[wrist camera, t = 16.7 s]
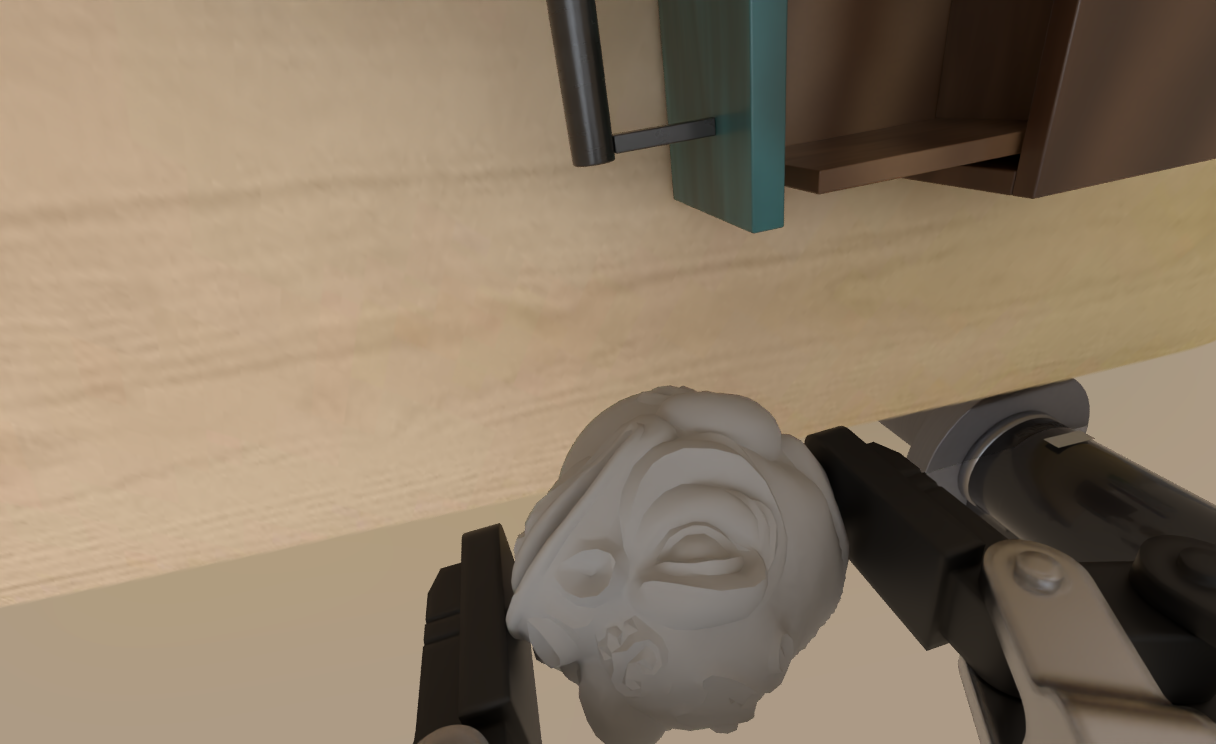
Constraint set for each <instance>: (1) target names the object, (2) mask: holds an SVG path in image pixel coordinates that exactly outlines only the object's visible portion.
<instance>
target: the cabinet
mask: <svg viewBox="0 0 1216 744" xmlns="http://www.w3.org/2000/svg"><path fill="white" fill-rule="evenodd" d="M1212 159H1216V0H1054V1H1053V5H1052V10H1051V15H1050V19H1049V24H1048V29H1047V33H1046V38H1045V43H1044V47H1043V52H1042V57H1041V61H1040V66H1039V71H1038V75H1037V80H1036V85H1035V89H1034V94H1033V99H1032V103H1031V108H1030V113H1029V117H1028V122H1027V127H1026V131H1025V136H1024V141H1023V145H1022V150H1021V153H1019V154H1014V155H1010V156H1005V157H1000V158H995V159H990V160H985V161H980V162H975V163H970V164H966V165H961V166H956V167H951V168H946V169H941V170H936V171H931V172H926V173H922V174H917V175H912V176H907V177H902V178H904V179H911V180H917V181H923V182H930V183H936V184H942V185H949V186H955V187H961V188H967V189H974V190H980V191H986V192H993V193H999V194H1005V195H1013V196H1018V197H1024V198H1031V199H1034V198H1039V197H1043V196H1048V195H1052V194H1057V193H1062V192H1066V191H1071V190H1075V189H1080V188H1084V187H1089V186H1093V185H1098V184H1103V183H1107V182H1112V181H1116V180H1121V179H1125V178H1130V177H1134V176H1139V175H1143V174H1148V173H1153V172H1157V171H1162V170H1166V169H1171V168H1175V167H1180V166H1184V165H1189V164H1194V163H1198V162H1203V161H1207V160H1212Z"/></svg>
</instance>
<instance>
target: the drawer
mask: <svg viewBox="0 0 1216 744" xmlns="http://www.w3.org/2000/svg"><path fill="white" fill-rule="evenodd" d="M1053 1H1054V0H658V6H659V19H660V31H661V44H662V56H663V69H664V81H665V94H666V106H667V119H668V125H662V126H656V127H651V128H645V129H639V130H634V131H628V132H622V133H616V134H612V130H611V122H610V114H609V106H608V98H607V90H606V82H605V74H604V67H603V59H602V51H601V43H600V35H599V27H598V19H597V11H596V3H595V0H546V2H547V8H548V14H549V20H550V27H551V33H552V39H553V45H554V51H555V57H556V63H557V69H558V76H559V82H560V88H561V94H562V100H563V106H564V112H565V119H566V125H567V131H568V137H569V143H570V149H571V155H572V162H573V165H574V166H575V167H587V166H595V165H600V164H605V163H609V162H612V161H614V160H615V153H617V154H618V153H623V152H629V151H634V150H640V149H645V148H651V147H656V146H662V145H667V144H670V156H671V169H672V181H673V194H674V199H675V200H677V201H679V202H682V203H684V204H686V205H689V206H691V207H693V208H696V209H698V210H700V211H702V212H705V213H707V214H709V215H712V216H714V217H716V218H719V219H721V220H723V221H725V222H728V223H730V224H732V225H735V226H737V227H739V228H742V229H744V230H746V231H748V232H751V233H758V232H763V231H767V230H772V229H777V228H782V227H783V226H784V186H786V187H790V188H794V189H799V190H803V191H807V192H811V193H815V194H824V193H829V192H833V191H838V190H843V189H848V188H853V187H858V186H863V185H868V184H873V183H877V182H882V181H887V180H892V179H897V178H902V177H907V176H912V175H917V174H922V173H926V172H931V171H936V170H941V169H946V168H951V167H956V166H961V165H966V164H970V163H975V162H980V161H985V160H990V159H995V158H1000V157H1005V156H1010V155H1014V154H1019V153H1021V150H1022V145H1023V141H1024V136H1025V131H1026V127H1027V122H1028V117H1029V113H1030V108H1031V103H1032V99H1033V94H1034V89H1035V85H1036V80H1037V75H1038V71H1039V66H1040V61H1041V57H1042V52H1043V47H1044V43H1045V38H1046V33H1047V29H1048V24H1049V19H1050V15H1051V10H1052V5H1053Z"/></svg>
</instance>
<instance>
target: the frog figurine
mask: <svg viewBox="0 0 1216 744" xmlns="http://www.w3.org/2000/svg"><path fill="white" fill-rule="evenodd" d="M514 553H515V563H514V566H513V570H512V579H511V584H512V589H513V592H514V595H513V597H512V600H511V603H510V606H509V609H508V612H507V616H506V623H507V627H508V631H509V633H510V635H511V636H512V637H513V638H515V639H524V640H526V641H528V642H530V643H531V644H532V646H533V651H534V654H535V657H536V660H538V661H540V662H541V663H544V664H546V665H547V666H549V667H550V668H555V669H557V670H559V671H562V672H563V674H564V675H565V676H566V677H567V678H568V679H569V680H570V681H573V682H574V683H576V684H577V685H578V686H579V699H580V702H581V704H582V707H583V710H584V713H585V716H586V718H587V721H588V723H589V725H590V726H591V728H592V730H593V731H594V733H595V735H596V736H597V737H598V738H599V739H600V740H601V741H603V742H604V743H605V744H655V743H656V742H657V741H658V740H659V739H660V738H661V737H662V735H663V734H664V732H665V731H668V730H671V729H672V728H673V729H682V730H688V731H692V730H699V729H705V728H710V729H712V730H713V731H715V732H716V733H727V734H728V733H730V732H733V731H735V730H737V727H738V723H743V722H747V721H749V720H751V719H752V718H753V717H754V711H755V707H756V704H757V702H758V701H759V700H760V699H761V698H762V696H763V695H764V694H765V693H770V692H772V691H773V690H774V689H776V688H777V687H778V686H779V685H780V684H781V683H782V681H783V679H784V676H785V674H786V672H787V669H788V667H789V664H790V662H791V660H792V659H793V658H794V657H795V655H797V654H798V653H799V651H801V650H803V649H805V647H806V646H807V644H808V643H809V642H810V640H811V639H812V638H814V637H815V636H816V634H817V631H818V630H819V628H820V627H821V626H823V625H824V624H825V623H826V621H827V620H828V619H829V618H830V615H831V614H832V613H834V611H835V609H836V608H837V604H838V603H839V601H840V599H841V595H842V593H843V587H844V581H845V574H846V570H847V565H848V560H849V541H848V537H847V534H846V530H845V526H844V523H843V520H842V517H841V514H840V511H839V508H838V505H837V503H836V501H835V498H834V493H833V490H832V487H831V485H830V482H829V479H828V477H827V474H826V472H825V470H824V469H823V467H822V465H821V464H820V463H819V461H818V460H817V459H816V458H815V457H814V455H813V454H812V453H811V452H810V450H809V449H808V448H807V447H806V445H805V444H804V443H803V442H802V441H801V440H799V439H797V438H795V437H793V436H792V435H789V434H781V431H780V429H779V427H778V424H777V422H776V420H775V418H774V417H773V416H772V415H771V414H770V412H768V411H767V410H766V409H765V408H763V407H762V406H761V405H760V404H758V403H757V402H755V401H753V400H752V399H750V398H747V397H743V396H740V395H734V394H724V393H713V392H709V391H702V392H697V391H695V390H693V389H690V388H688V387H685V386H681V387H680V388H678V387H674V386H662V387H657V388H654V389H652V390H651V391H647V392H641V393H640V394H636V395H633V396H631V397H628V398H625V399H623V400H620V401H618V402H617V403H615V404H614V405H612V406H610V407H609V408H607V409H606V410H604V411H603V412H601V413H600V414H599V415H598V416H597V417H595V418H594V419H593V420H592V421H591V422H590V423H589V424H588V425H587V426H586V427H585V429H584V430H583V431H582V432H581V434H580V435H579V436H578V437H577V439H576V441H575V442H574V444H573V445H572V447H571V449H570V450H569V452H568V454H567V456H566V459H565V461H564V463H563V466H562V468H561V472H560V476H559V479H558V480H557V481H556V483H555V484H554V485H553V487H552V488H551V489H550V491H549V492H548V493H547V495H546V496H544V497H543V498H542V499H541V500H540V501H538V502H537V503H536V505H535V506H534V508H533V509H532V511H531V512H530V514H529V516H528V518H527V520H526V522H525V531H524V532H523V533H521V534H519V535H518V537H517V541H516V543H515V547H514Z"/></svg>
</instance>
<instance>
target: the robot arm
mask: <svg viewBox="0 0 1216 744" xmlns="http://www.w3.org/2000/svg"><path fill="white" fill-rule="evenodd" d="M1092 439H1094V438H1093V437H1091V436H1089V435H1088V434H1086V433H1084V432H1082V431H1080V430H1078V431H1075V430H1073V429H1071V428H1069V427H1067V426H1065V425H1063V424H1062V423H1061V422H1060V421H1058V420H1057V419H1055V418H1053V417H1051V416H1049V415H1047V414H1045V413H1043V412H1040V411H1025V412H1020V413H1017V414H1014V415H1012V416H1009V417H1007V418H1005V419H1004V420H1002V421H1000V422H999V423H997V424H996V425H994V426H993V427H992V428H990V429H989V430H988V431H987V432H985V433H984V434H983V435H982V436H981V437H980V438H979V439H978V440H977V441H976V443H975V444H974V445H973V446H972V448H971V449H970V450H969V452H968V454H967V455H966V457H965V459H964V461H963V463H962V465H961V468H960V471H959V476H958V487H959V490H960V493H961V494H962V496H963V497H964V498H965V499H967V503H966V505H965V504H963V503H962V502H961V501H960V500H958V499H957V498H956V497H955V496H953V495H952V494H951V493H949V492H948V491H947V490H946V489H944V488H943V487H942V486H938V485H937V482H936V481H934V480H933V479H932V478H931V477H929V476H928V475H927V474H926V473H921V471H920V469H919V468H918V467H917V466H915V465H914V464H913V463H912V462H910V461H909V460H908V459H907V458H905V457H904V456H903V455H902V454H900V453H898V452H896V451H894V450H891V449H889V448H887V447H884V446H882V445H880V444H877V443H875V442H872V443H868V444H866V443H865V442H864V441H862V440H861V439H860V438H858V436H856V435H855V434H854V433H853V432H852V431H850V430H849V429H848V428H846V427H844V426H838V427H835V428H831V429H828V430H824V431H821V432H817V433H814V434H810V435H808V436H807V437H806V439H805V443H804V444H805V445H806V447H807V448H808V449H809V450H810V452H811V453H812V454H813V455H814V457H815V458H816V459H817V460H818V461H819V463H820V464H821V465H822V467H823V469H824V470H825V472H826V474H827V477H828V479H829V482H830V485H831V487H832V490H833V493H834V498H835V501H836V503H837V505H838V508H839V511H840V514H841V517H842V520H843V523H844V526H845V530H846V534H847V537H848V541H849V560H850V561H851V562H852V563H853V565H854V566H855V567H856V568H857V569H858V570H859V572H860V573H861V574H862V575H863V576H864V578H865V579H866V580H867V581H868V582H869V583H870V584H871V586H872V587H873V588H874V589H875V590H876V592H877V593H878V594H879V595H880V596H881V597H882V599H883V600H884V601H885V602H886V604H887V605H888V606H889V607H890V608H891V609H892V611H893V612H894V613H895V614H896V615H897V616H898V618H899V619H900V620H901V621H902V622H903V623H904V625H905V626H906V627H907V628H908V629H909V631H910V632H911V633H912V634H913V635H914V637H915V638H916V639H917V640H918V641H919V642H920V644H921V645H922V646H923V647H924V648H925V649H926V651H927V650H931V649H933V648H936V647H939V646H942V645H945V644H947V643H950V644H951V645H952V647H953V648H954V649H955V650H956V651H957V652H958V653H959V654H960V656H959V660H958V668H959V673H960V677H961V680H962V683H963V686H964V690H965V693H966V696H967V700H968V703H969V707H970V710H971V713H972V716H973V720H974V723H975V727H976V730H977V733H978V737H979V740H980V744H1216V505H1214V504H1212V503H1210V502H1209V501H1207V500H1205V499H1203V498H1201V497H1199V496H1197V495H1195V494H1193V493H1191V492H1190V491H1188V490H1185V489H1184V488H1182V487H1180V486H1178V485H1176V484H1174V483H1173V482H1171V481H1169V480H1167V479H1165V478H1163V477H1161V476H1159V475H1158V474H1156V473H1153V472H1152V471H1150V470H1148V469H1146V468H1145V467H1143V466H1141V465H1139V464H1137V463H1135V462H1133V461H1131V460H1129V459H1128V458H1125V457H1124V456H1122V455H1120V454H1118V453H1116V452H1114V451H1112V450H1111V449H1109V448H1107V447H1105V446H1103V445H1101V444H1099V443H1097V442H1095V441H1094V440H1092ZM461 553H462V554H461V563H459V564H455V565H451V566H448V567H445V568H441V569H440V571H439V573H438V575H437V577H436V579H435V581H434V583H433V585H432V587H431V588H430V590H429V592H428V598H427V608H426V625H425V631H424V647H423V653H422V665H421V676H420V689H419V699H418V710H417V722H416V732H415V738H414V742H413V744H542V740H541V732H540V723H539V714H538V705H537V696H536V687H535V679H534V670H533V661H532V652H531V643H530V642H528V641H526V640H524V639H515V638H513V637H512V636H511V635H510V633H509V631H508V627H507V623H506V616H507V612H508V609H509V606H510V603H511V600H512V597H513V595H514V592H513V589H512V584H511V579H512V570H513V566H514V563H515V561H514V559H513V556H512V553H511V550H510V547H509V544H508V541H507V539H506V536H505V533H504V530H503V528H502V525H501V524H500V523H498V524H495V525H492V526H488V527H485V528H481V529H477V530H474V531H470V532H467V533H464V534H463V535H462V551H461Z"/></svg>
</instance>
